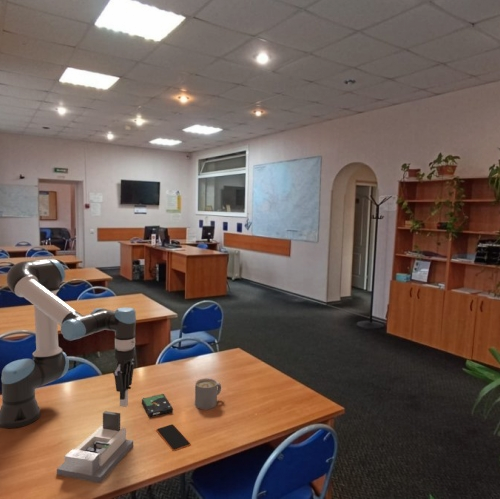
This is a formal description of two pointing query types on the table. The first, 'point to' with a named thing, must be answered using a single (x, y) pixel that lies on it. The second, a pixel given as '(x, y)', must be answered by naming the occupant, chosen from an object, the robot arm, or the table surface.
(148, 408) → the disk drive
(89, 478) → the bench
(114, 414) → the plunger
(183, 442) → the smartphone
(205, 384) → the coffee mug
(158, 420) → the table surface
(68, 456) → the brushed metal slab
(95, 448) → the dark grey angular piece
